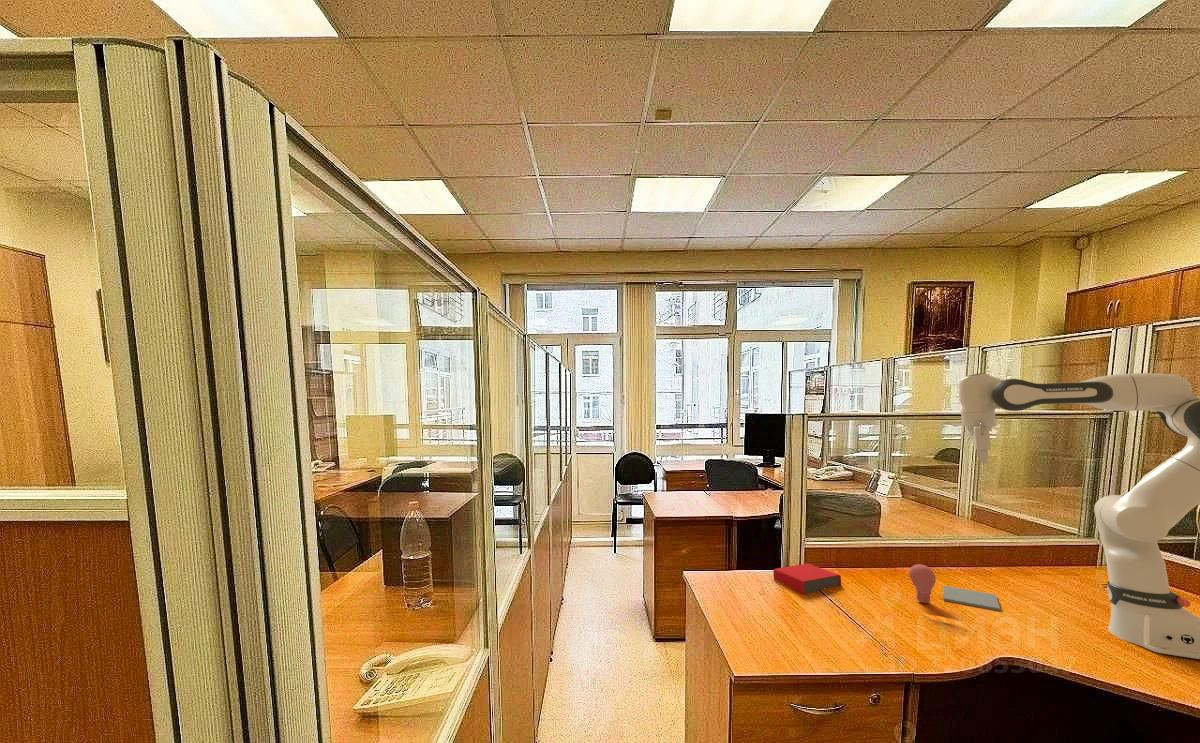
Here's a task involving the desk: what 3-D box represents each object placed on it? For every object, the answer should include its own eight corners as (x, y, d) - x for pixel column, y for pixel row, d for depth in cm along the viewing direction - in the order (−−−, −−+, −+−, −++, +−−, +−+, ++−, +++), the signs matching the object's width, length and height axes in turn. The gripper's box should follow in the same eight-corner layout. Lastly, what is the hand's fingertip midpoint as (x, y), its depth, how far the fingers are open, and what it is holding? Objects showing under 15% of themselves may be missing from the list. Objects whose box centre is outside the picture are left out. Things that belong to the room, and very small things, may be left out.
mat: (995, 597, 148) (995, 594, 148) (1000, 611, 137) (1000, 608, 137) (943, 587, 156) (943, 585, 157) (943, 600, 146) (943, 598, 146)
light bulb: (943, 607, 140) (940, 568, 142) (921, 607, 140) (917, 568, 142) (927, 598, 147) (924, 561, 149) (906, 598, 147) (903, 561, 149)
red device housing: (809, 576, 171) (809, 563, 171) (841, 589, 158) (840, 574, 158) (774, 582, 164) (773, 569, 165) (803, 596, 151) (803, 581, 152)
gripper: (993, 421, 139) (999, 465, 138) (988, 420, 155) (992, 460, 154) (968, 421, 143) (972, 464, 141) (965, 421, 159) (969, 459, 158)
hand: (983, 462), depth 148 cm, fingers open, 8 cm apart
